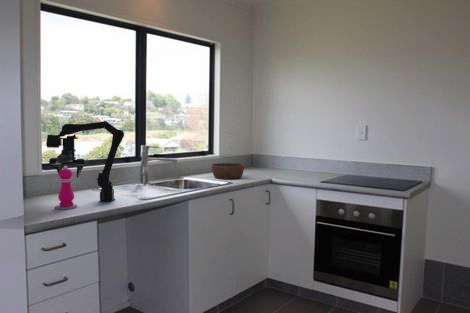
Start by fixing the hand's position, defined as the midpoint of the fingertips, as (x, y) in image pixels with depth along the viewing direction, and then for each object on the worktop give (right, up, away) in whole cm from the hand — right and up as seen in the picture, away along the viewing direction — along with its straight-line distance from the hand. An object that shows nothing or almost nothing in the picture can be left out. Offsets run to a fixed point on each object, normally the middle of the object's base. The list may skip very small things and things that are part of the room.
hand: (69, 177), depth 215 cm
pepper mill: (+4, -14, -12) cm, 19 cm away
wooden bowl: (+81, -6, +101) cm, 130 cm away
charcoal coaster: (+3, -14, -13) cm, 19 cm away
